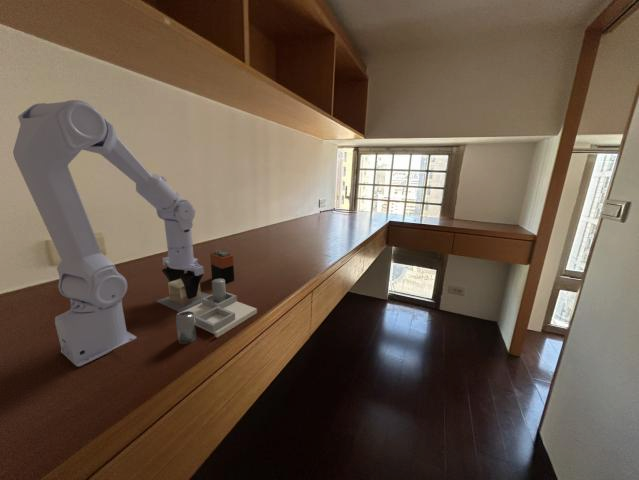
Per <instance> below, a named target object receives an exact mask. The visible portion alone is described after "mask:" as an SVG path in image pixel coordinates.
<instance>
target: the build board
mask: <svg viewBox="0 0 639 480" xmlns="http://www.w3.org/2000/svg"><path fill="white" fill-rule="evenodd" d="M211 290H212V291H211V292H212V293H211V294H209V296H207V297H205V298H203V299H202V302H200V303H198V304H196V305H194V306H191V307H189V308H187V309H185V310H183V311H180V312H178V313H177V314H176V316H177V315H178V314H180V313H182V312H187V311H190V312H193V313H194V321H195V327H196V326H197V327H198V328H200V329H202V330H203V331H204V330H205V331H207V332H209V333H210V334H213V337H215V338H219V337H222V335H224V334H226V333H227V332H229V331H231V330H232V329H233V328H235V327H237V326H239V325H240V324H241V323H243V322H245V321H246V320H248V319H250V318H251V317H253V316H254V315H256V314H257V313H258V309H257V307H253V306H250V305H248V304H245V303H243V302H239V301H238V296H237V295H236V294H233V293H231V292H227V291H226V283H225V280H224V279H215V280H213V279H212V280H211Z"/></svg>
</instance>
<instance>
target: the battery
mask: <svg viewBox="0 0 639 480" xmlns="http://www.w3.org/2000/svg"><path fill="white" fill-rule="evenodd" d="M209 257H210V267H211V268H210V269H211V279H212V281H213V280H215V279H224V280H225V284H228V283H231V282H234V281H235V271H234V270H235V267H234V256H233V254H230V253H228V251H222V250H221V249H218V250H215V252H211V253H210V255H209Z"/></svg>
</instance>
